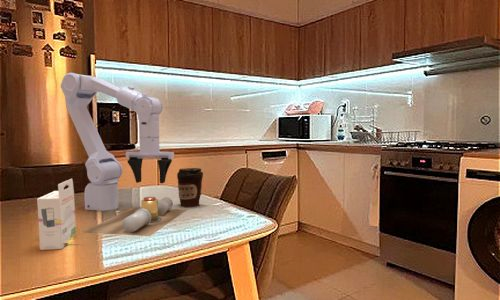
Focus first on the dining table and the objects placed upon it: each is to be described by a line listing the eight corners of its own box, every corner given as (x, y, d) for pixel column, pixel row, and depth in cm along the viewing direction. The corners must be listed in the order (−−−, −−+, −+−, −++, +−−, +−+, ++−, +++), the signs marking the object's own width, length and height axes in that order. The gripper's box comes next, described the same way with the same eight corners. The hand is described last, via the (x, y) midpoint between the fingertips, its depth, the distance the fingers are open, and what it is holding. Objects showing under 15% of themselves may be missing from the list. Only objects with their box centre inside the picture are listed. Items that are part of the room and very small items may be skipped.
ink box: (55, 237, 89) (53, 178, 88) (76, 237, 89) (74, 177, 88) (38, 250, 80) (35, 184, 79) (61, 249, 81) (58, 184, 79)
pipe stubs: (121, 233, 90) (120, 214, 90) (159, 210, 113) (159, 195, 112) (139, 234, 89) (138, 215, 89) (174, 211, 112) (173, 196, 112)
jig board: (82, 235, 90) (82, 231, 90) (133, 210, 116) (132, 207, 116) (150, 239, 87) (150, 235, 87) (187, 212, 113) (187, 209, 113)
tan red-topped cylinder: (139, 221, 99) (138, 199, 98) (146, 217, 103) (145, 196, 103) (154, 222, 98) (154, 199, 98) (160, 217, 103) (160, 196, 102)
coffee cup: (197, 212, 114) (197, 170, 113) (173, 210, 115) (172, 170, 114) (206, 205, 122) (206, 167, 121) (183, 204, 124) (182, 166, 123)
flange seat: (135, 222, 99) (135, 221, 99) (145, 216, 104) (145, 216, 104) (156, 223, 98) (156, 222, 98) (165, 217, 103) (165, 217, 103)
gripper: (120, 137, 106) (121, 184, 107) (167, 138, 104) (168, 185, 105) (131, 136, 113) (133, 180, 114) (176, 137, 110) (177, 181, 112)
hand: (150, 182), depth 110 cm, fingers open, 7 cm apart
